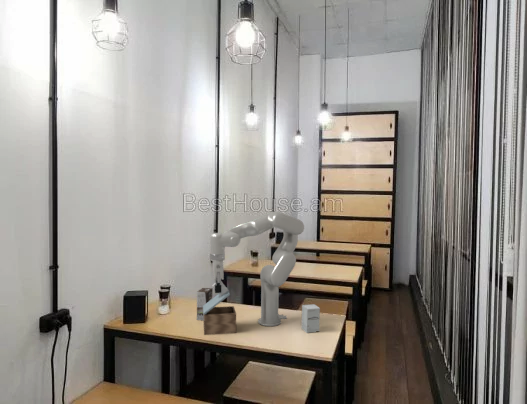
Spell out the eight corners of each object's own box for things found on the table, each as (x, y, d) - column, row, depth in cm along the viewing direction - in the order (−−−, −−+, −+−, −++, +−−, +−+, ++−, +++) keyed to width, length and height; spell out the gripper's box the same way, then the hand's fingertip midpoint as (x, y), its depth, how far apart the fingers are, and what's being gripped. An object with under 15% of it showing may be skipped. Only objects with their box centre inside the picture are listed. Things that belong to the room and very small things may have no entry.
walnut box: (233, 324, 199) (233, 306, 198) (235, 332, 187) (236, 313, 187) (203, 326, 196) (203, 307, 195) (204, 334, 184) (204, 315, 184)
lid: (227, 288, 198) (219, 277, 197) (230, 294, 185) (221, 282, 184) (203, 307, 195) (194, 295, 194) (204, 314, 183) (195, 302, 182)
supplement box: (306, 333, 188) (306, 308, 187) (301, 328, 195) (301, 304, 195) (319, 332, 190) (320, 307, 189) (314, 327, 197) (314, 303, 196)
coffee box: (207, 321, 203) (207, 292, 203) (196, 320, 205) (196, 291, 204) (212, 315, 212) (213, 288, 212) (202, 314, 214) (202, 287, 213)
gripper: (226, 259, 183) (226, 296, 184) (223, 254, 198) (223, 287, 199) (211, 260, 181) (211, 297, 182) (209, 254, 197) (209, 288, 197)
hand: (218, 291), depth 190 cm, fingers closed
